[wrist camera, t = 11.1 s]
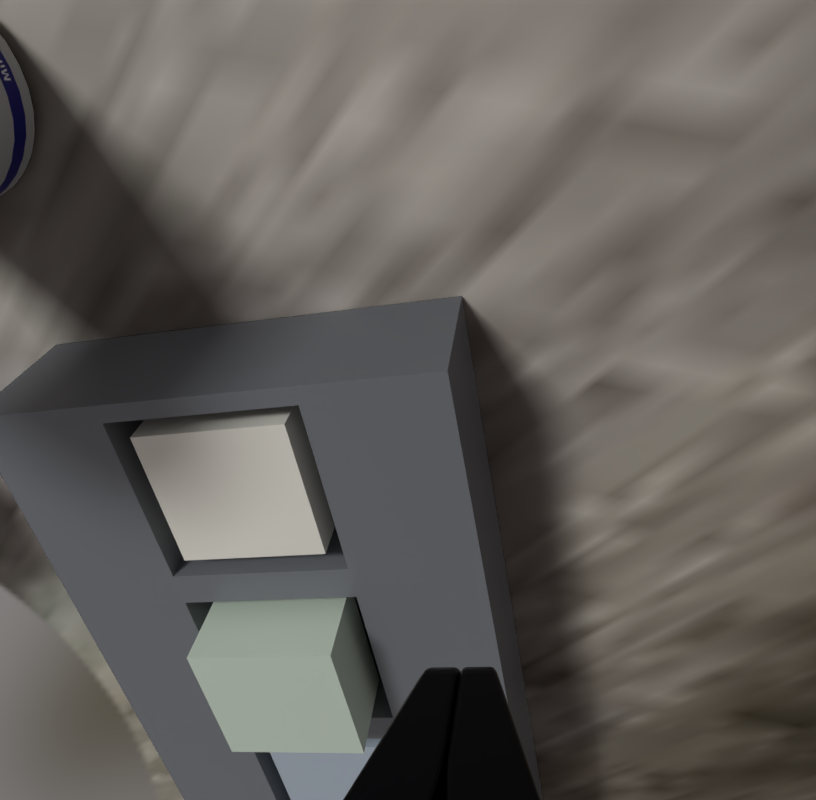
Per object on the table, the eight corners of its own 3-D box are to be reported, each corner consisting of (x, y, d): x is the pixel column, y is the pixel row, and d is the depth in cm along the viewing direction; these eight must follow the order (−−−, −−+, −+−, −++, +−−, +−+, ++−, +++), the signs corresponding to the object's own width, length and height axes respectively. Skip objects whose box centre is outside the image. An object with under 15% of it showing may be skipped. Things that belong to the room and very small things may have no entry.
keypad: (461, 295, 19) (447, 370, 16) (547, 826, 31) (549, 934, 28) (55, 344, 22) (-32, 418, 18) (277, 817, 33) (249, 915, 30)
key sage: (350, 583, 21) (330, 655, 19) (379, 678, 23) (364, 753, 21) (219, 588, 22) (186, 658, 20) (258, 680, 24) (232, 751, 22)
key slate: (398, 680, 25) (387, 747, 23) (419, 753, 27) (410, 820, 25) (288, 680, 26) (266, 746, 24) (315, 751, 28) (298, 817, 26)
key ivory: (311, 371, 19) (284, 424, 17) (345, 493, 21) (325, 553, 19) (171, 386, 20) (129, 437, 18) (217, 501, 22) (184, 560, 20)
